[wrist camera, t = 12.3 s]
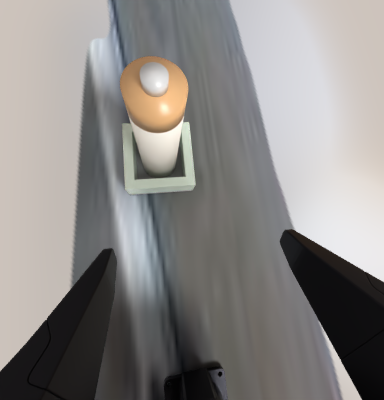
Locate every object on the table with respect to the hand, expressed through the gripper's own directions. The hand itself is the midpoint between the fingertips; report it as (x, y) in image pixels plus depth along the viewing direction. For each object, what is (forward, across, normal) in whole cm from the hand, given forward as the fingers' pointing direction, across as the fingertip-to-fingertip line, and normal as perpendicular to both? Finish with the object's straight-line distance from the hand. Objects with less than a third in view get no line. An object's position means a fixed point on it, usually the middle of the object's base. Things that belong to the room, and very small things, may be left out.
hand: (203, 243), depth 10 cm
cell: (+16, +2, +3) cm, 16 cm away
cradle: (+16, +2, +3) cm, 17 cm away
